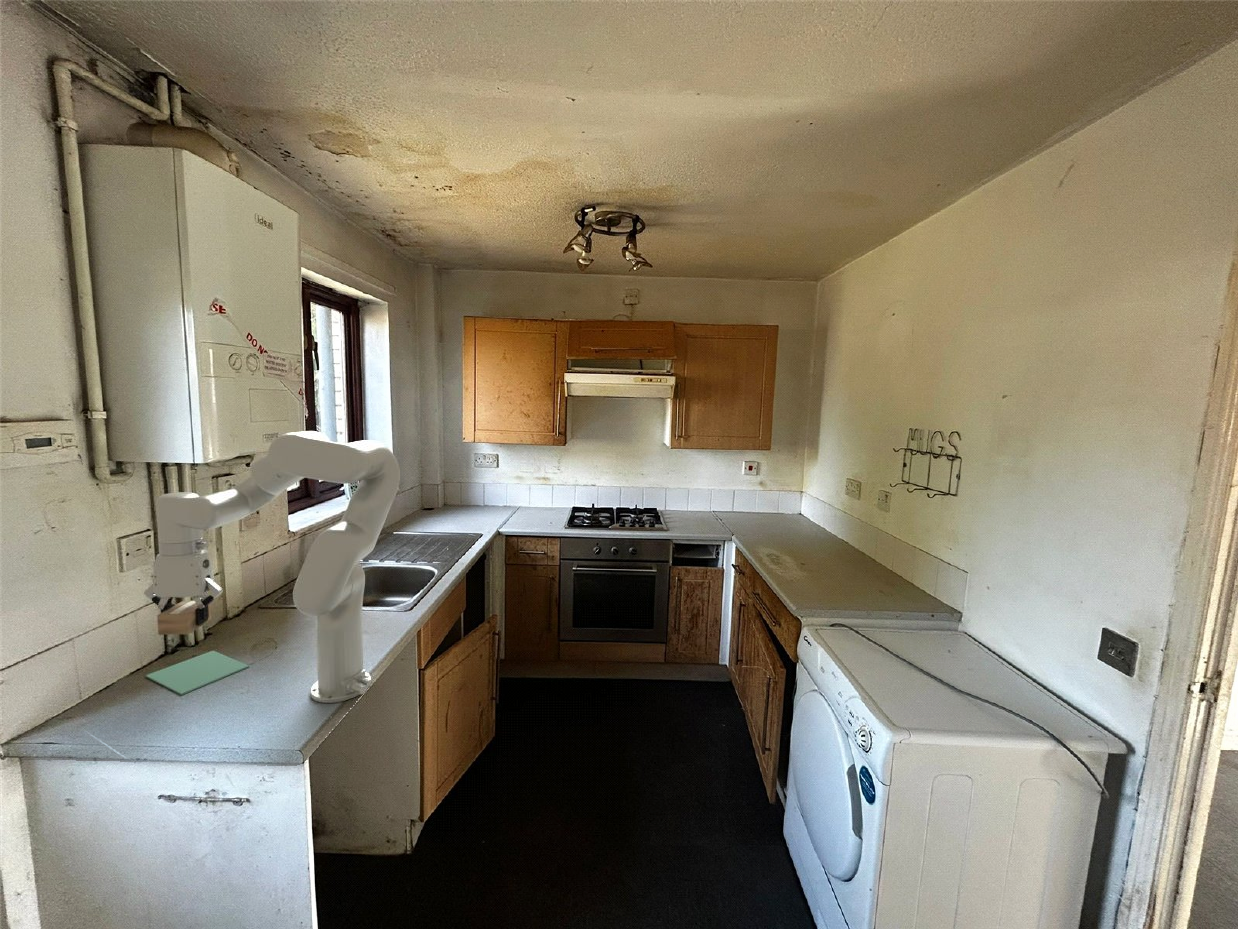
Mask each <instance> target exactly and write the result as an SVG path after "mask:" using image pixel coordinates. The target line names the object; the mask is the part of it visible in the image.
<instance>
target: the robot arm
mask: <svg viewBox="0 0 1238 929" xmlns="http://www.w3.org/2000/svg"><path fill="white" fill-rule="evenodd" d="M400 471H401V470H400V466H399V462H398V459H397V458H396V456H395V455H394V453H393V452H392V450H390V449H389V448H388V447H387V446H386V445H385V444H383V443H381V442H379V441H376V440H369V439H367V440H366V439H365V440H357V441H353V442H346V443H341V442H335V441H331V439H330V438H329V437H328V436H327V435H325V434H324V433H323V432H322V433H321V432H318V431H315V430H306V431H296V432H287V433H284V434H282V435H279V436H277V437H276V438H275V439H273V441H272V442H271V443H270V445H269V446H268V450H267V453H266V454H264V455H263V456H261V457H259V458H258V459H256V460H255V461H253V462H252V463H251V464H250V468H249V473H250V476H249V477H248V478H246V479H245V480H243V481H242V482H240V483H238V484H237V485H235V486H233V487H232V488H229V489H226V490H222V491H218V492H213V493H210V494H205V495H202V496H201V495H198V494H197V493H195V492H192V491H191V492H190V491H185V492H184V491H182V492H181V491H180V492H179V491H177V492H170V493H164V494H161V495H160V496H158V497H157V498H156V503H155V506H156V508H155V509H156V520H157V521H156V522H157V538H158V552H159V553H158V554H156V557H155V561H154V566H153V567H154V568H153V577H152V578H153V581H152V584H151V585H150V586H149V587H148V588H147V589H146V590H145V591H144V592H143V594H144V596H146V597H147V598H149V599H150V600H151V601H152V602H153V603H154V604H156V606H157V608H158V610H160V611H161V612H160V614H161V613H162V612H164V611H166V610H168V609H170V608H172V607H173V606H175V605H176V604H173V603H174V600H175V598H176V599H177V598H180V599H181V598H192V599H193V601H195V603H196V605H197V607H198V608H197V609H195V610H196V625H201V624H203V623H204V622H206V621H207V620H208V618H209V608H208V605H209V604H210V603H211V604H212V602H213V601H214V600H215V599H216V598H217V597H219V596H220V594H222V593H223V592H224V589H223V588H222V587H221V586H220V585H218V584H217V583H216V582H215V574H214V573H215V572H214V568H213V563H212V559H211V556H210V553H209V551H208V550H207V549H208V548H209V545H210V543H209V542H208V541H206V542H205V540H204V537H203V531H210V530H213V529H216V528H220V527H223V526H225V525H228V524H231V523H234V522H237V521H240V520H242V519H245V518H248V517H249V516H250V515H252V514H255V512H257V511H258V510H260V509H262V508H263V507H266V505H268V504H270V503H271V502H272V501H274V500H275V499H276V498H278V496H280V495H281V494H282V493H283V492H284V491H285V490H287V489H289V488H290V487H292V486H293V485H295V484H297V483H298V482H300V481H301V480H303V479H305V478H306V479H311V480H318V481H323V482H329V483H333V484H334V483H335V484H345V485H346V484H347V485H348V484H354V483H357V482H359V484H358V486H357V488H356V489H355V491H353V493H352V495H351V497H350V499H349V501H348V505H347V507H346V509H345V511H344V513H343V516H342V518H341V519H340V520H339V522H337V523H336V524H334V525H332V526H330V527H328V528H326V529H325V530H322V532H321V533H320V534H318V535H317V537H316V538H315V539H314V540H313V542H312V543H311V546H309V547H310V548H309V549H308V552H307V555H306V557H305V558H304V561H303V563H302V566H301V568H300V571H299V573H298V576H297V578H296V581H295V583H294V587H293V591H292V600H293V604H294V606H295V608H296V609H297V610H298V611H299V612H300V613H301V614H302V615H305V616H307V617H315V635H316V636H315V638H316V640H315V641H316V664H317V666H316V667H317V681H315V683H313V684H312V685H311V688H310V692H309V693H310V698H312V700H314V701H316V702H319V703H323V704H324V703H325V704H331V703H339V702H340V703H341V702H344V701H348V700H351V699H353V698H355V697H357V696H359V695H363V694H365V693H366V692H367V690H368V689H369V688H370V686H371V685H372V683H373V681H372V678H371V675H370V673H368V672H367V671H366V669H364V636H363V604H364V603H363V601H364V594H365V593H364V592H365V587H366V586H365V585H366V576H365V571H364V569H363V568H364V567H363V566H362V565H361V563H360V561H362V560H363V559H364V558H366V557H367V556H368V555H369V554H370V553H371V552H373V550H374V548H375V547H376V544H377V542H378V539H379V536H380V534H381V532H382V529H383V526H384V525H385V522H386V520H387V517H388V514H389V512H390V509H391V508H392V505H393V503H394V500H395V497H396V495H397V492H398V490H399V487H400V481H401V472H400ZM205 549H206V550H205ZM208 592H211V593H210V594H208ZM206 623H207V622H206ZM203 625H204V624H203Z"/></svg>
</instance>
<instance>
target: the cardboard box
mask: <svg viewBox="0 0 1238 929" xmlns="http://www.w3.org/2000/svg"><path fill="white" fill-rule="evenodd" d="M197 608H198V607H197V605H196V603H195V601H194V600H182V601H180V602H179V603H176V604H175V606H173V607H172V608H170V609H168V610H166V611H164V612H162V613H161V612H160V613H158V614H157V617H156V619H157V620H156V622H157V635H158V636H159V635H160V636H162V635H163V636H164V635H166V636H167V635H170V636H171V635H189V634H191V633H192V632H194V631H196V630H197V629H199V628H200V627H202V626H204V625H206V623H208V622H209V621H212V619H213V616H212V602H211V603H210V604H209V605H208V608H209V618H208V620H207V621H206V622H204V623H203V624H201V625H196V610H195V609H197Z"/></svg>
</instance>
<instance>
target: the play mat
mask: <svg viewBox="0 0 1238 929" xmlns="http://www.w3.org/2000/svg"><path fill="white" fill-rule="evenodd" d="M249 667H250V665H248V664H246V663H243V662H241V661H239V660H236V659H234V658H231V657H229V656H227V655H225V654H222V653H220V652H217V651H216V650H211V651H208V652H206V653H203V654H200V655H197V656H194V657H192V658H189V659H186V660H184V661H181V662H178V663H175V664H173V665H170V666H167V667H164V668H162V669H160V670H155V671H153V672H151V673H149V674H146V675H145V677H146V678H147V679H149V680H151V681H154V682H155V683H157V684H160V685H161V686H163V687H165V688H166V689H169V690H171V691H172V692H175V693H177V694H178V695H181V696H184V695H186V694H188V693H191V692H193V691H196V690H197V689H201V688H203V687H206V686H207V685H209V684H213V683H214V682H217V681H219V680H221V679H224V678H227V677H229V676H232V675H233V674H236V673H238V672H241V671H243V670H246V669H249Z"/></svg>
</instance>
